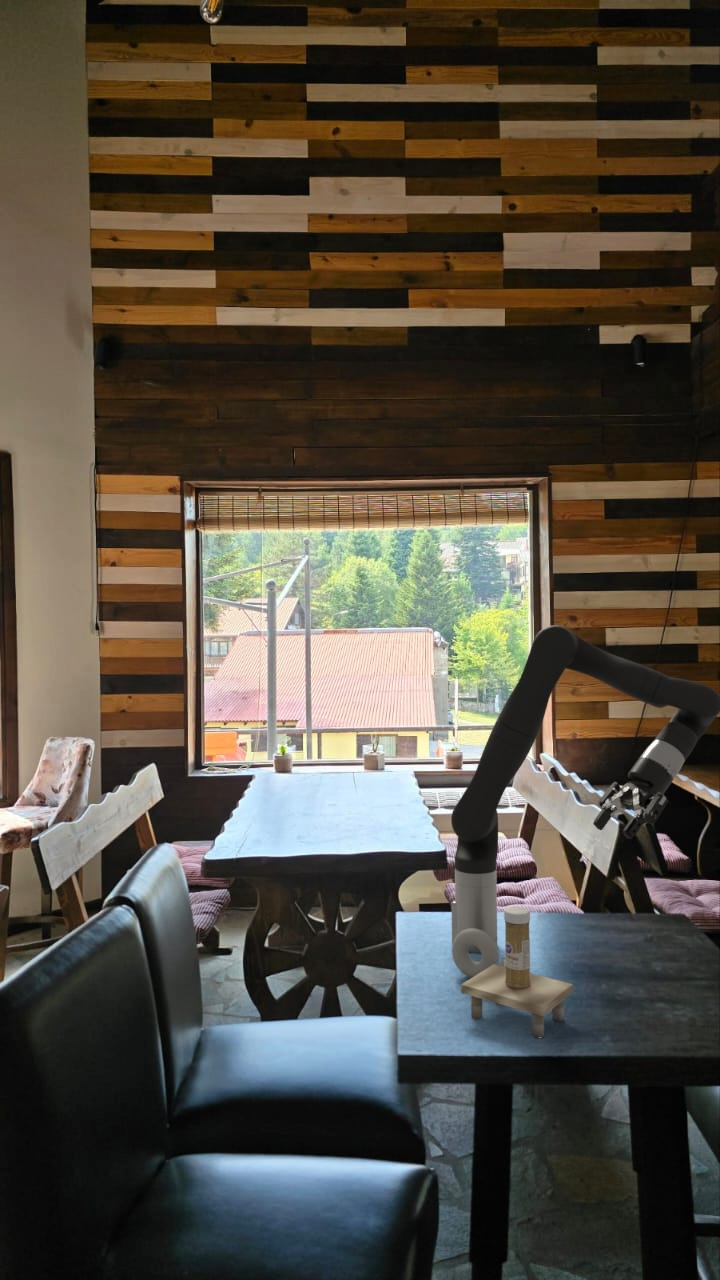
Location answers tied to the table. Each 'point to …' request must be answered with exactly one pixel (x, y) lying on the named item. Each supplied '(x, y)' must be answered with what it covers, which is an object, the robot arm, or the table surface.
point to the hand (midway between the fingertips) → (611, 831)
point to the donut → (480, 941)
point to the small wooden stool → (518, 995)
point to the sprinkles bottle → (517, 947)
